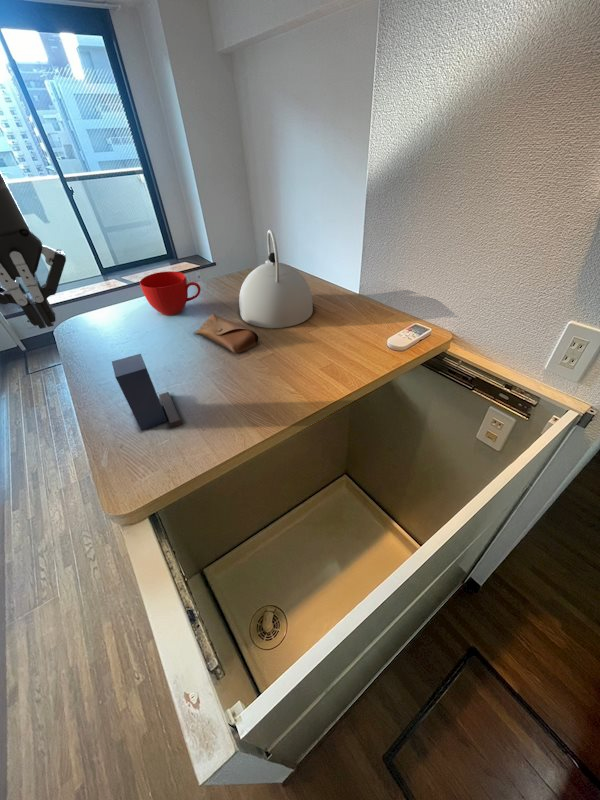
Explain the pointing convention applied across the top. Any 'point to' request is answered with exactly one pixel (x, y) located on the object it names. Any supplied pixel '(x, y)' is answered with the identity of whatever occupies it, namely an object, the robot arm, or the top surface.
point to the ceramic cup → (167, 291)
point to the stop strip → (170, 409)
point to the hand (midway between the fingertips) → (46, 325)
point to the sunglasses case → (228, 334)
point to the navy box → (139, 391)
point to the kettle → (275, 294)
